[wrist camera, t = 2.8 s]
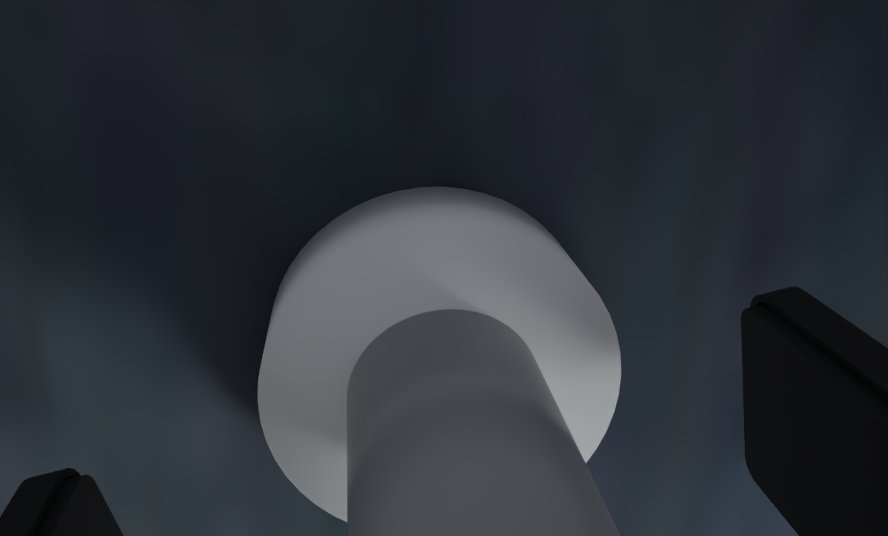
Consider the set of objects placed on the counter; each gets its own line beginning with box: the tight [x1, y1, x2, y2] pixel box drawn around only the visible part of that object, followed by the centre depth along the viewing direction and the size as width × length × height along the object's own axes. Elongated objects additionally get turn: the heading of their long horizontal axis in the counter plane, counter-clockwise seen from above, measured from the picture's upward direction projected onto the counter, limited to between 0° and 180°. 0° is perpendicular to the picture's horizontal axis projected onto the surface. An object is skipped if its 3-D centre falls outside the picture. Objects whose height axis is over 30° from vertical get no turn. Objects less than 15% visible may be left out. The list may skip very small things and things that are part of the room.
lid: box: [258, 187, 621, 536], centre depth 10 cm, size 6×6×7 cm
